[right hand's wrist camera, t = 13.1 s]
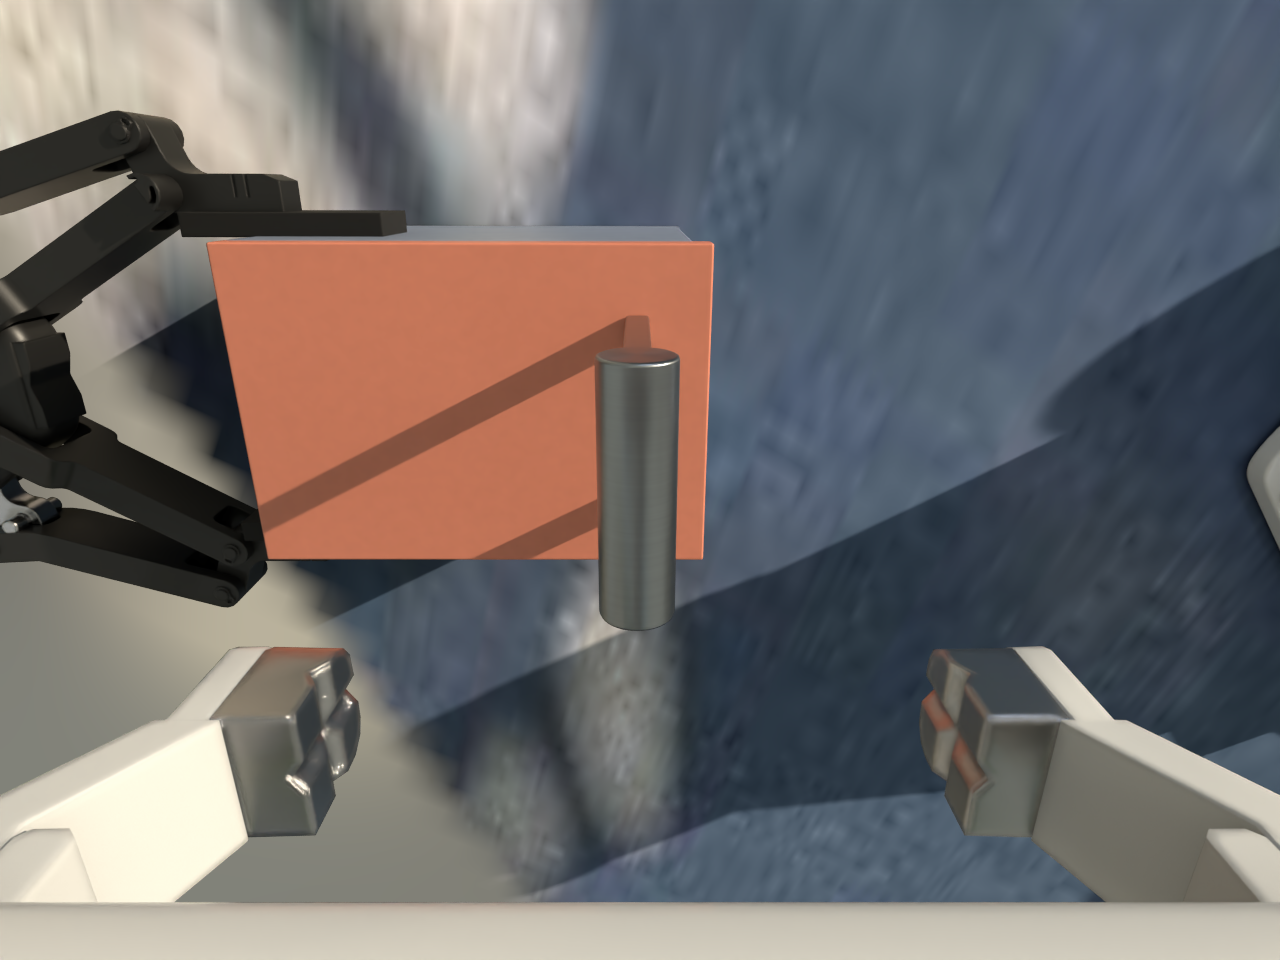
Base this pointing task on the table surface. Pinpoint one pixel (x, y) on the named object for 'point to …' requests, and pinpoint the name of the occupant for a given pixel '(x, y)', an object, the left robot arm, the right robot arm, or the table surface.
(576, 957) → the right robot arm
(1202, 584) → the table surface
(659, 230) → the chest
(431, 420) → the lid
